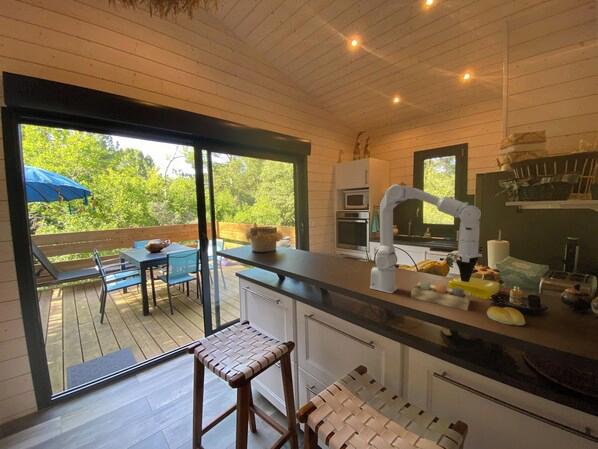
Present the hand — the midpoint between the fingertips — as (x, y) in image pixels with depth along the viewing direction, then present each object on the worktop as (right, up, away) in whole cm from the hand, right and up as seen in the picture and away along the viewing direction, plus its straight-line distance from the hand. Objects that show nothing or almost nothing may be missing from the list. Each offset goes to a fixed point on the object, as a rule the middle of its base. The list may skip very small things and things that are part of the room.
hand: (466, 278), depth 85 cm
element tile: (+15, -10, +18) cm, 25 cm away
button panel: (-4, -10, +8) cm, 13 cm away
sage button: (-9, -8, +11) cm, 16 cm away
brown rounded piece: (-4, -8, +8) cm, 12 cm away
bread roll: (+7, -11, -9) cm, 16 cm away
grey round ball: (0, -8, +4) cm, 9 cm away
